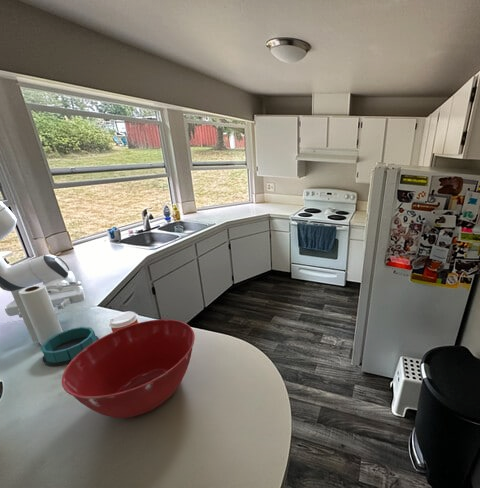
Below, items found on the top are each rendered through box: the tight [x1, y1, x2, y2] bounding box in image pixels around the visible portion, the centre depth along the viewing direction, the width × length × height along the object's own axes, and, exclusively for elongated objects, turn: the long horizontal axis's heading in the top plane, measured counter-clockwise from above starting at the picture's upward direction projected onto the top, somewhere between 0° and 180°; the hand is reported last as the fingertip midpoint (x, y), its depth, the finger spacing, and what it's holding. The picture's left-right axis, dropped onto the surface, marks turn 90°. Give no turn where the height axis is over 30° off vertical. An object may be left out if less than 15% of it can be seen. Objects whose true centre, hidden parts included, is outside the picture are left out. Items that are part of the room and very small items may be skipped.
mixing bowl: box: [61, 318, 196, 419], centre depth 70 cm, size 28×28×15 cm
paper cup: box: [108, 310, 139, 332], centre depth 85 cm, size 8×8×14 cm
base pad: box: [40, 326, 100, 367], centre depth 86 cm, size 14×14×5 cm
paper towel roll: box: [10, 284, 64, 346], centre depth 87 cm, size 7×6×21 cm
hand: (41, 311), depth 88 cm, fingers open, 8 cm apart
